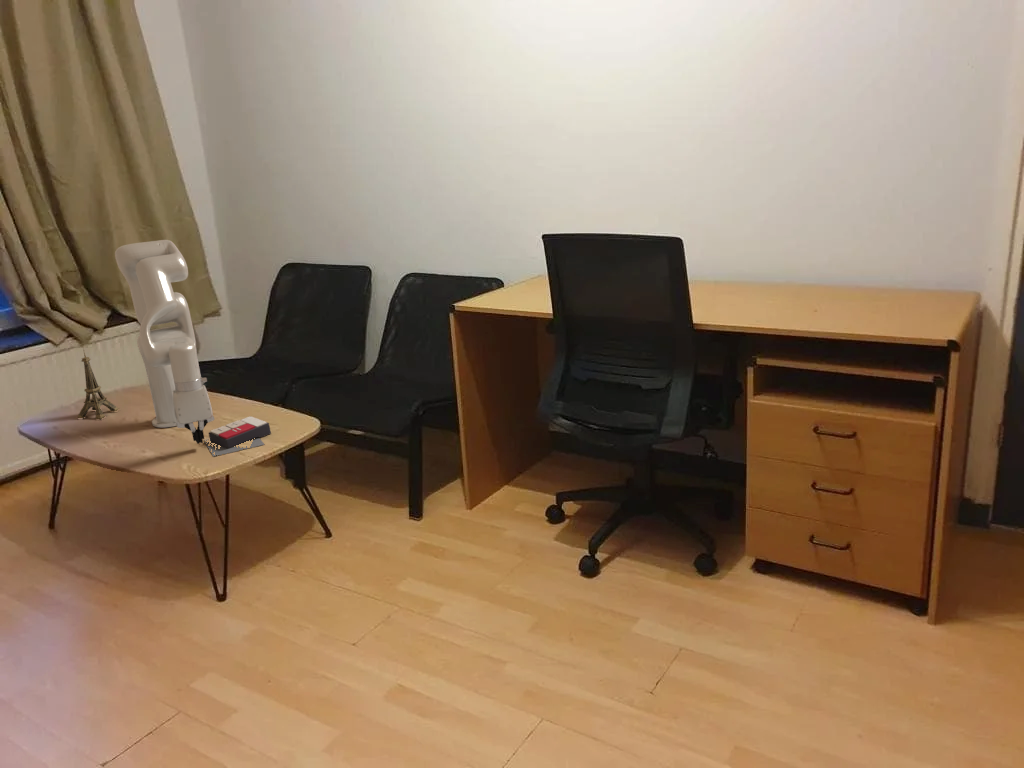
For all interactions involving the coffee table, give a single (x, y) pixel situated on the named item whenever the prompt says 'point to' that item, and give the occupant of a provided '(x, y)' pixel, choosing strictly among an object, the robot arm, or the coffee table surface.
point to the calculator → (239, 432)
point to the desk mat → (223, 450)
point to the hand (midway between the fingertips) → (199, 441)
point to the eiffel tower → (93, 393)
